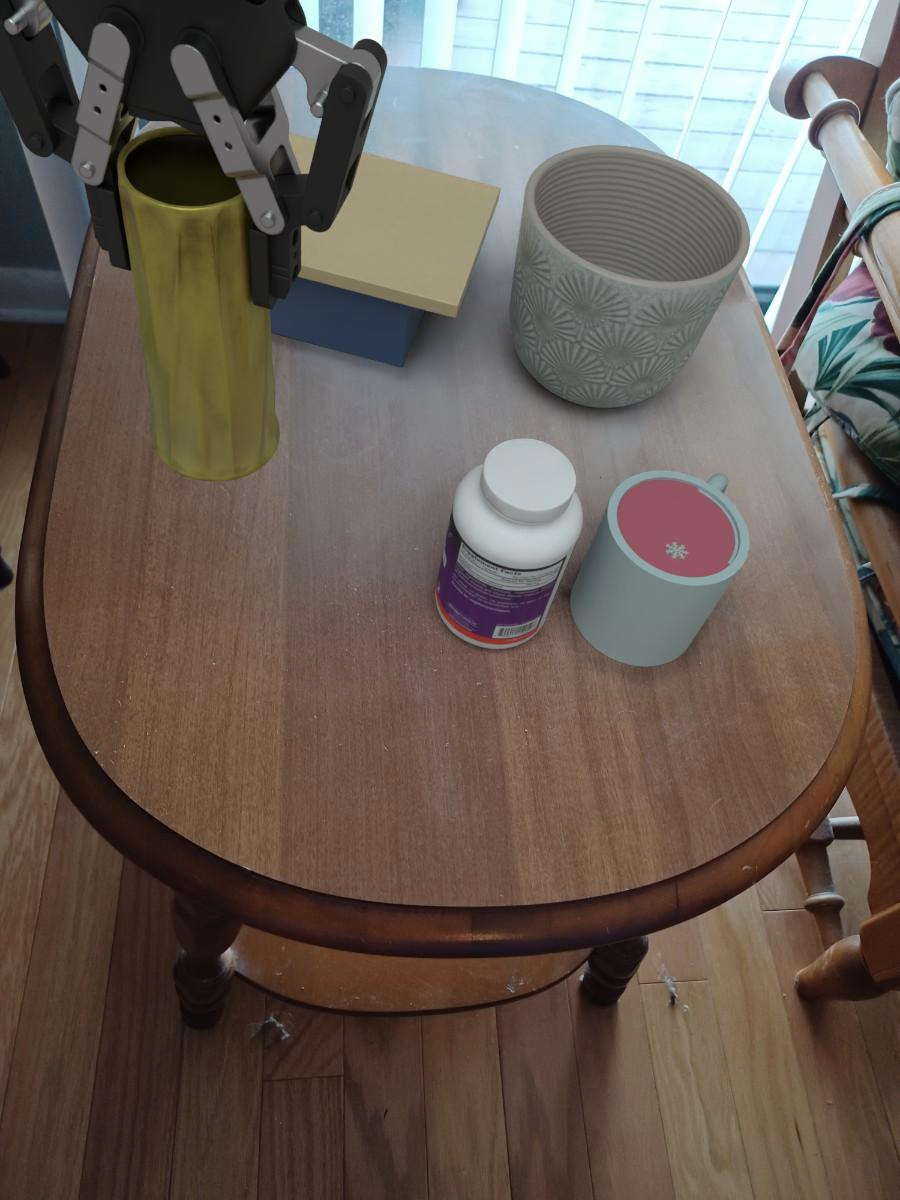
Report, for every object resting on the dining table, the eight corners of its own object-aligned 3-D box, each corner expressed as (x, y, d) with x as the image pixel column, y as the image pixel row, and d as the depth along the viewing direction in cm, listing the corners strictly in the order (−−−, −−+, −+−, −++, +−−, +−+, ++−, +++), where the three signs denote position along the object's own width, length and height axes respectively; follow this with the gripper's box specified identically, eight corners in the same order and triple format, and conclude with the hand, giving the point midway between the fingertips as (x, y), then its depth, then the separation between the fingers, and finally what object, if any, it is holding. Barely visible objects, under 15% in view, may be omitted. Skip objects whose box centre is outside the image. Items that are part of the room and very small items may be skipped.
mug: (656, 690, 65) (708, 611, 57) (545, 614, 67) (580, 527, 59) (744, 570, 72) (802, 484, 64) (641, 504, 74) (684, 413, 66)
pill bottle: (472, 542, 70) (507, 400, 58) (565, 598, 68) (621, 464, 56) (410, 615, 66) (434, 478, 54) (508, 677, 64) (555, 550, 52)
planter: (678, 459, 77) (752, 309, 65) (475, 413, 77) (510, 254, 65) (686, 325, 87) (751, 172, 74) (505, 284, 87) (540, 123, 74)
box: (208, 333, 78) (199, 237, 71) (273, 223, 87) (271, 127, 80) (442, 396, 78) (458, 306, 70) (483, 278, 87) (501, 187, 79)
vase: (183, 501, 44) (143, 233, 32) (130, 414, 46) (75, 135, 35) (302, 458, 46) (304, 194, 35) (245, 377, 49) (230, 105, 37)
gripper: (447, -239, 27) (395, 268, 41) (-40, -366, 27) (75, 180, 41) (369, -146, 22) (341, 385, 36) (-207, -298, 23) (-15, 285, 37)
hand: (200, 274), depth 39 cm, fingers closed on vase, 5 cm apart
